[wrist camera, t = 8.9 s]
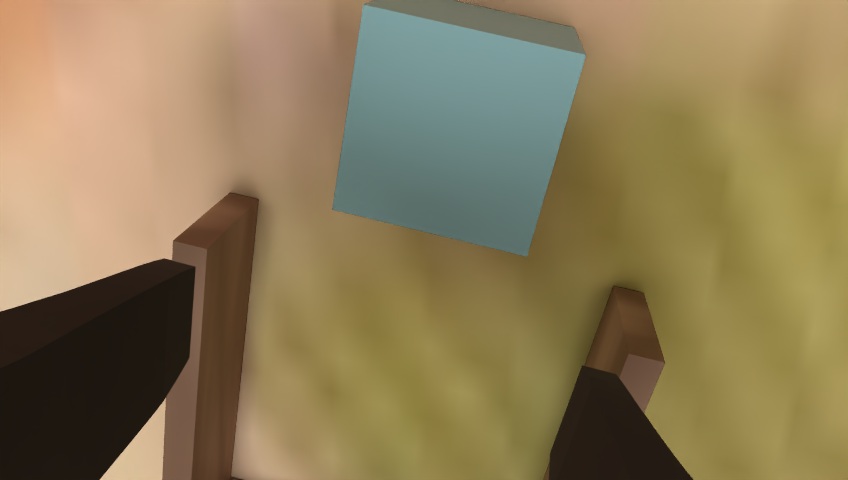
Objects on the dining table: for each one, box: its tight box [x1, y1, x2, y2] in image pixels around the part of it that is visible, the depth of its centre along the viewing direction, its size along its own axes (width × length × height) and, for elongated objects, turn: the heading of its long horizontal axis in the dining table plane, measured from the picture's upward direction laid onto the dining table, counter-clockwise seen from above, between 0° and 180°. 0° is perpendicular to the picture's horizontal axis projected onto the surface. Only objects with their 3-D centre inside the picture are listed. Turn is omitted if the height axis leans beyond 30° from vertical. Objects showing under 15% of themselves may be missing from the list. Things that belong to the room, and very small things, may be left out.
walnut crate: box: [162, 193, 665, 480], centre depth 24 cm, size 14×14×4 cm
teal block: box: [332, 0, 586, 257], centre depth 18 cm, size 5×5×5 cm
